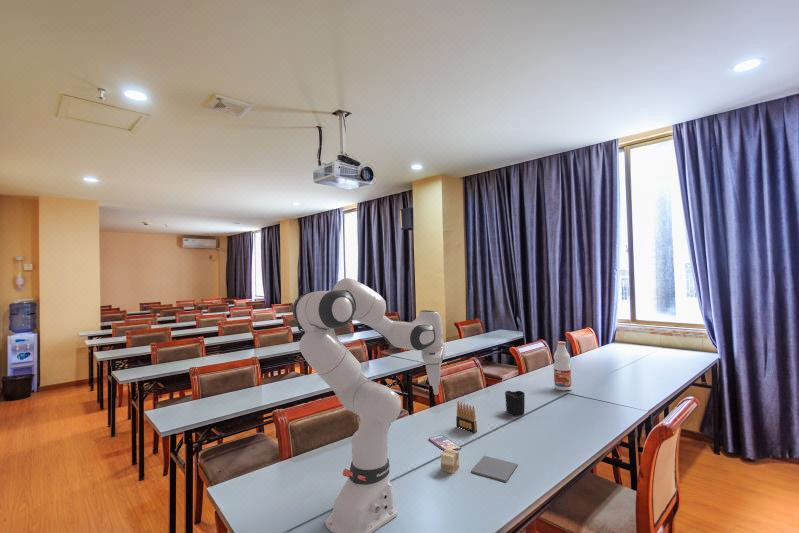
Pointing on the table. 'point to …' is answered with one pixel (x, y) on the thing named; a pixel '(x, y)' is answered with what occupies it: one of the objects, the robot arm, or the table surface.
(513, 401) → the pen holder
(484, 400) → the table surface
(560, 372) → the fruit juice
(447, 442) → the smartphone
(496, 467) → the mat
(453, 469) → the maple block
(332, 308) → the robot arm
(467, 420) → the ammunition clip
